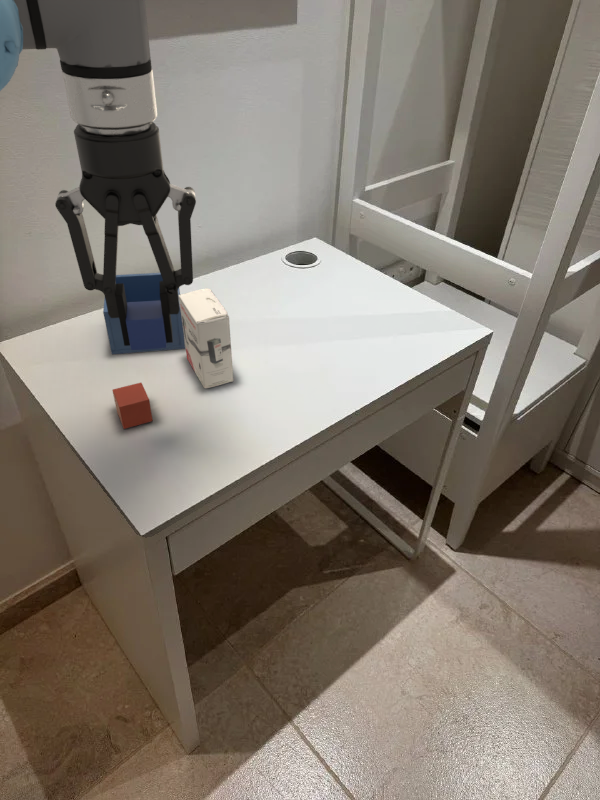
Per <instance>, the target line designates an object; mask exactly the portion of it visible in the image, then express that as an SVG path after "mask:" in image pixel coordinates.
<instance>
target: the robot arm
mask: <svg viewBox="0 0 600 800" xmlns="http://www.w3.org/2000/svg"><path fill="white" fill-rule="evenodd" d="M47 49H56V50H57V53H58V57H59V64H60V68H61V73H62V78H63V84H64V89H65V94H66V99H67V105H68V111H69V115H70V118H71V120H72V121H73V122H74V123H76V124H77V125H76V126H75V128H74V130H73V134H74V140H75V145H76V151H77V155H78V161H79V165H80V170H81V178H80V183H79V186H78V187H75V188H73V189H70V190H66V189H62V190H60V191H59V192H58V195H57V198H56V200H55V208H56V210H57V212H58V213H59V214H60V216H61V217H62V219H63V220H64V221H65V223H66V225H67V228H68V232H69V236H70V240H71V244H72V247H73V249H74V254H75V258H76V262H77V265H78V269H79V273H80V277H81V280H82V284H83V287H84V289H85V290H87V291H95V290H96V291H100V292H101V293H103V295H104V299H105V300H106V305H107V310H108V315H109V316H110V317H111V318H119V319H120V325H121V330H122V335H123V341H124V346H129V345H130V342H129V336H128V331H127V325H126V315H127V301H126V295H125V289H124V284H123V283H118V284H116V275H117V264H118V262H117V261H118V260H117V259H118V246H119V245H118V243H119V227H123V226H127V225H135V226H142V228H143V232H144V234H145V235H146V237H147V240H148V243H149V246H150V248H151V251H152V254H153V256H154V259H155V262H156V266H157V268H158V270H159V273H161V276H162V279H163V281H160V300H161V308H162V315H163V320H164V328H165V335H166V343H173V336H172V323H171V315H170V314H178V313H179V310H180V309H179V297H178V288H179V289H180V288H181V287H182V286H184V285H185V286H190V285H192V284H193V282H194V271H193V269H194V268H193V248H192V246H193V245H192V222H191V219H192V217H193V212H194V210H195V207H196V204H197V199H196V192H195V189H194V188H193V187H191V186H185V187H184V188H183V187H180V186H178V185H175V184H173V183H171V181H170V179H169V177H168V176H167V175H166V172H165V169H164V163H163V155H162V145H161V136H160V129H159V126H157V124H156V123H155V120H157V118H158V109H157V108H158V105H157V99H156V88H155V79H154V70H153V67H152V66H153V65H152V58H151V48H150V38H149V28H148V17H147V6H146V0H0V92H1V91H2V90H3V89H4V88H5V87H6V86H8V84H9V82H10V81H11V79H12V78H13V76H14V75H15V72H16V70H17V68H18V66H19V62H20V61H19V59H20V54H22V52H23V50H37V51H38V50H47ZM168 198H169V199H171V202H172V203H171V204H172V208H173V210H175V211H177V221H178V224H177V225H178V239H179V253H180V254H179V255H180V259H179V260H180V268H179V269H177V270H175V267H174V265H173V262H172V258H171V255H170V253H169V250H168V246H167V244H166V241H165V238H164V236H163V232H162V229H161V226H160V224H159V219H158V216H157V214H158V213H159V211H160V210H161V209H162V206H163V205H164V203H165V202H166V200H167V199H168ZM84 200H85V201H86V202H87V203H88V204H89V205H90V206H91V207H92V208H93V209H94V210H95V211H96V212H97V213H98V214H99V215H100V217H102V218H103V219H104V231H103V232H104V233H103V234H104V243H103V268H102V269H103V271H102V272H103V273H98V270H97V265H96V263H95V258H94V254H93V250H92V246H91V242H90V238H89V233H88V230H87V225H86V222H85V218H84V215H83V212H84V208H85V204H84Z"/></svg>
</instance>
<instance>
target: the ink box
mask: <svg viewBox="0 0 600 800" xmlns="http://www.w3.org/2000/svg"><path fill="white" fill-rule="evenodd" d="M179 303H180V310H181V317H182V324H183V332H184V341H185V355H186V359H187V361H188V362H189V365H190V366H191V368H192V370H193V372H194V373H195V375H196V377H197V378H198V380H199V382H200V383H201V385H202V387H203V389H209V388H214V387H218V386H222V385H224V384H228V383H232V382H234V367H233V356H232V354H233V353H232V339H231V338H232V337H231V326H230V325H231V324H230V316H229V314H228V311H227V310H226V308H225V307H224V305H222V303H221V301H220V300H219V299H218V298H217V296H216V294H215V293H214V292H213V291H212V290H211V288H207V287H206V288H202V289H196V290H192V291H188V292H185V293H180V295H179Z"/></svg>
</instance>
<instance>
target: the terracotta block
mask: <svg viewBox="0 0 600 800" xmlns="http://www.w3.org/2000/svg"><path fill="white" fill-rule="evenodd" d="M111 391H112V395H113V400H114V404H115V409H116V412H117V415H118V418H119V421H120V423H121V426H122V428H123V430H127V429H129V428H133V427H137V426H140V425H143V424H147V423H151V422H153V414H152V409H151V408H152V407H151V401H150V398H149V395H148V394H147V390H146V389H145V387H144V384H143V383H142V382H137V383H133V384H129V385H124V386H121V387H116V388H112V390H111Z"/></svg>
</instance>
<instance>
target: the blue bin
mask: <svg viewBox="0 0 600 800" xmlns="http://www.w3.org/2000/svg"><path fill="white" fill-rule="evenodd" d="M160 281H163V279H162V276H161V273H160V272H149V273H128V274H127V273H126V274H116V284H118V283H123V284H124V289H125V295H126V301H127V303H128V302H143V301H161V300H160ZM179 295H181V291H180V287H179V288H178V297H179ZM179 309H180V303H179ZM102 313H103V318H104V324H105V327H106V328H105V329H106V332H107V339H108V343H109V347H110V352H111V355H121V354H133V353H134V354H135V353H147V352H161V351H171V350H174V351H175V350H186V346H185V339H184V332H183V324H182V317H181V310H179V313H178V314H170V315H171V323H172V336H173V343H167V348H158V349H144V350H131V347H130V345H129V346H124V341H123V335H122V330H121V325H120V319H119V318H111V317H110V316H109V315H108V310H107V305H106V300H105V298H104V301H103V311H102Z"/></svg>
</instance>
